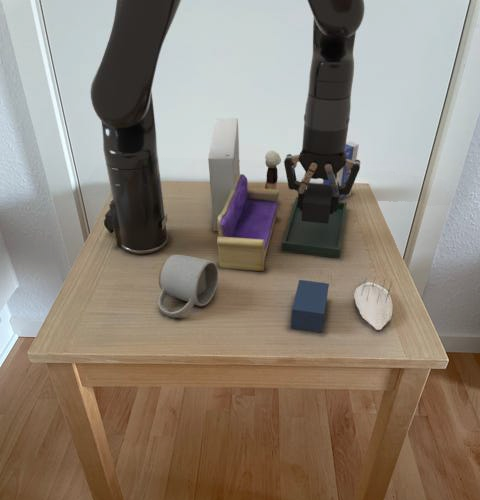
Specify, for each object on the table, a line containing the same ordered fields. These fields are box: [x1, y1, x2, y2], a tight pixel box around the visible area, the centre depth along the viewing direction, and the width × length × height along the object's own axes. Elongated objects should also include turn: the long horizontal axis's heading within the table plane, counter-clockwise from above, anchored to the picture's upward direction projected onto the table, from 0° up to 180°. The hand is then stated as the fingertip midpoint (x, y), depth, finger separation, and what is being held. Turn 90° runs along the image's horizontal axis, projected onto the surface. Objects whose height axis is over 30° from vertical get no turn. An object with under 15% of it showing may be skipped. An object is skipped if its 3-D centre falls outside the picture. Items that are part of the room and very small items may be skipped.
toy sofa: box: [216, 173, 280, 272], centre depth 96 cm, size 21×9×10 cm, turn 169°
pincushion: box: [353, 277, 394, 331], centre depth 81 cm, size 12×6×6 cm, turn 178°
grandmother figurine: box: [263, 149, 282, 190], centre depth 106 cm, size 8×4×13 cm, turn 178°
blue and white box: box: [322, 140, 359, 201], centre depth 109 cm, size 8×3×12 cm, turn 133°
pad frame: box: [281, 196, 348, 259], centre depth 102 cm, size 19×11×2 cm, turn 167°
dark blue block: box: [290, 279, 330, 333], centre depth 81 cm, size 8×5×4 cm, turn 167°
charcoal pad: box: [301, 182, 332, 224], centre depth 94 cm, size 8×5×4 cm, turn 167°
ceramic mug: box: [157, 254, 219, 319], centre depth 82 cm, size 11×8×8 cm
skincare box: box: [207, 118, 241, 232], centre depth 105 cm, size 21×6×16 cm, turn 178°
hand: (316, 210), depth 95 cm, fingers closed on charcoal pad, 5 cm apart
